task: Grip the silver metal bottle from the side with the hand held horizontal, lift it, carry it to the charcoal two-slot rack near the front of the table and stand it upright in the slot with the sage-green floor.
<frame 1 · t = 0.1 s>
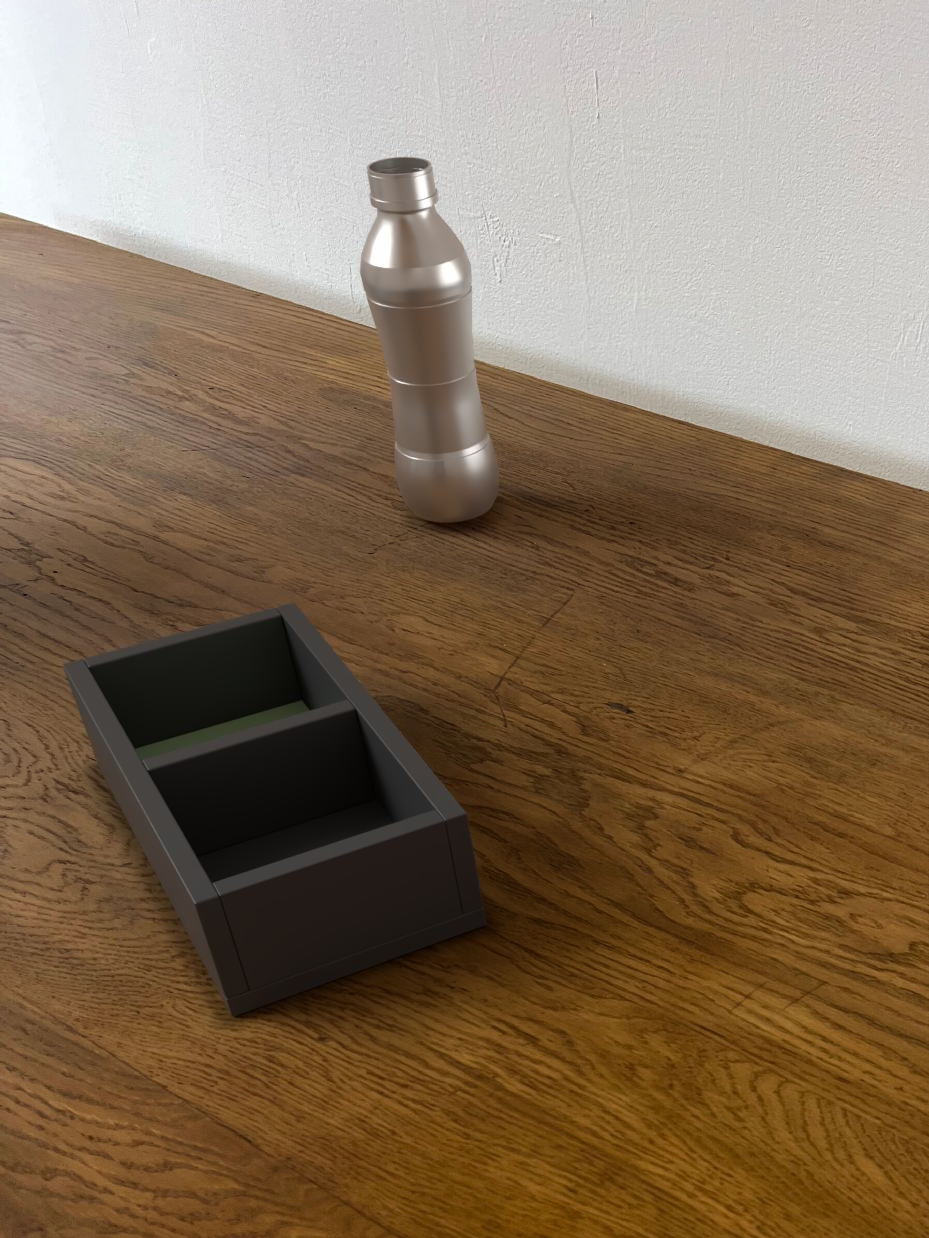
silver metal bottle: (454, 515, 101), on the table
rack: (281, 842, 75), on the table
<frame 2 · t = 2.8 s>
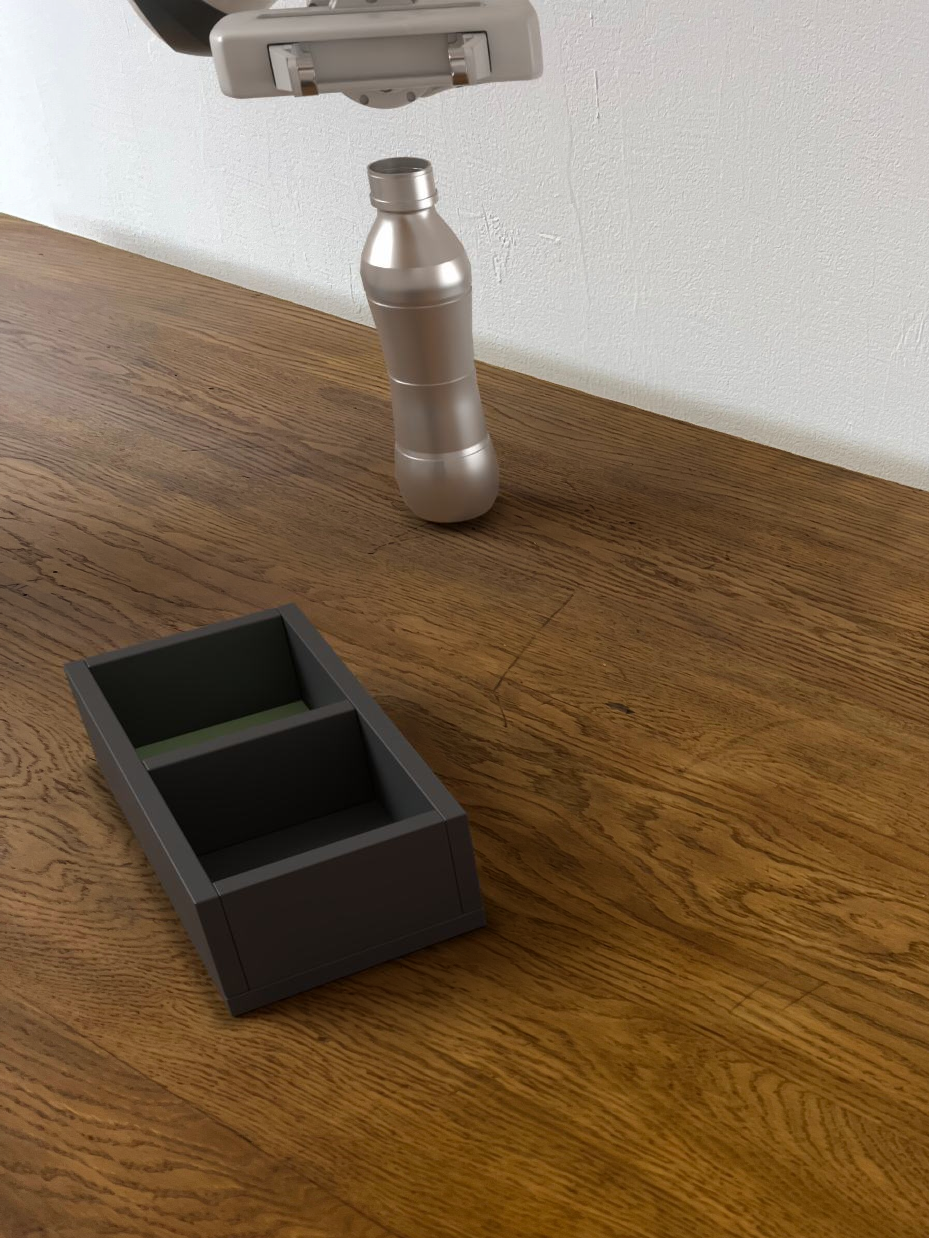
hand: (384, 76, 94), 22 cm above the table, tool horizontal, fingers open, 8 cm apart
nothing on the table moved.
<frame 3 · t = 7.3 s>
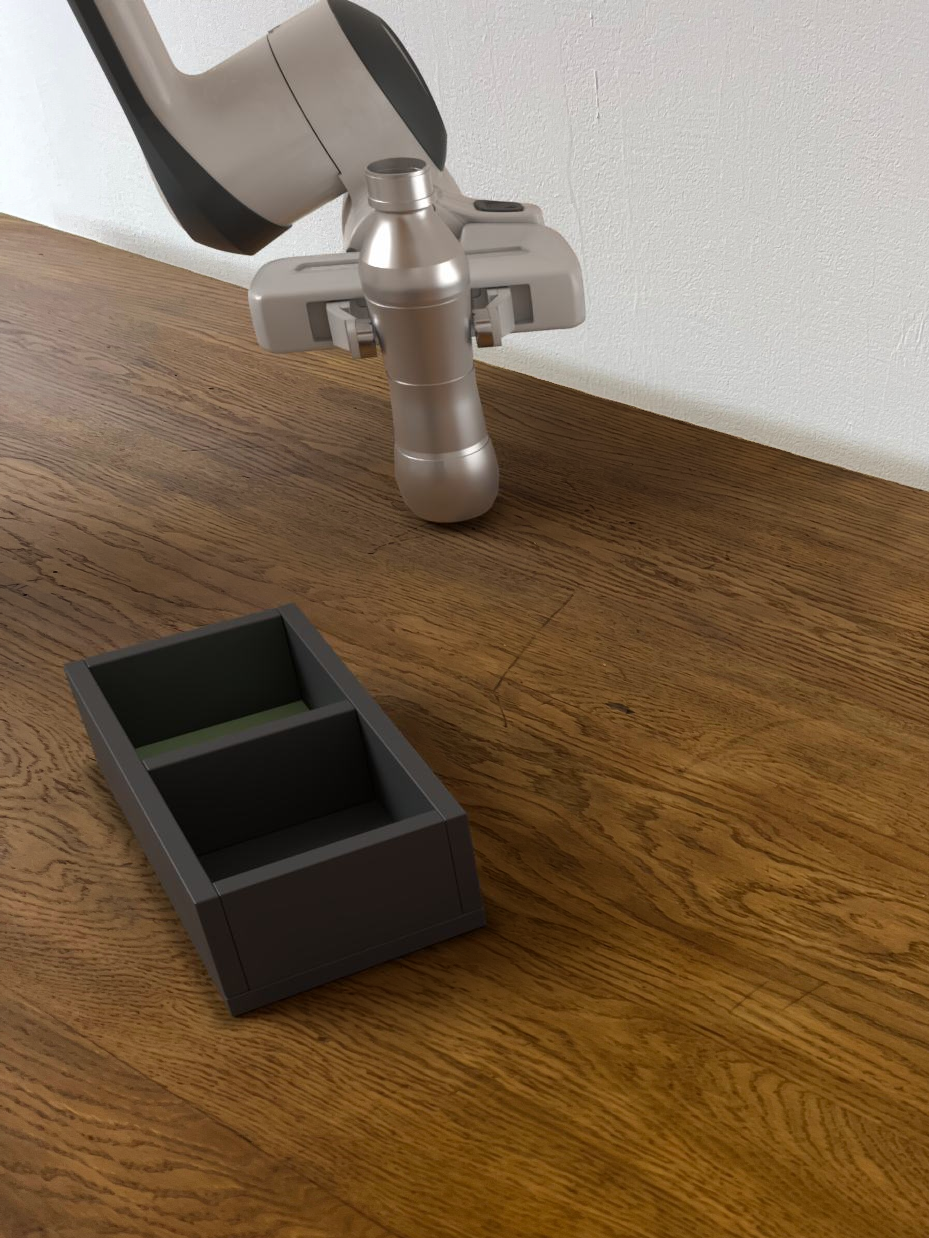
hand: (426, 339, 93), 11 cm above the table, tool horizontal, fingers closed on silver metal bottle, 6 cm apart
silver metal bottle: (454, 515, 101), on the table, touching gripper
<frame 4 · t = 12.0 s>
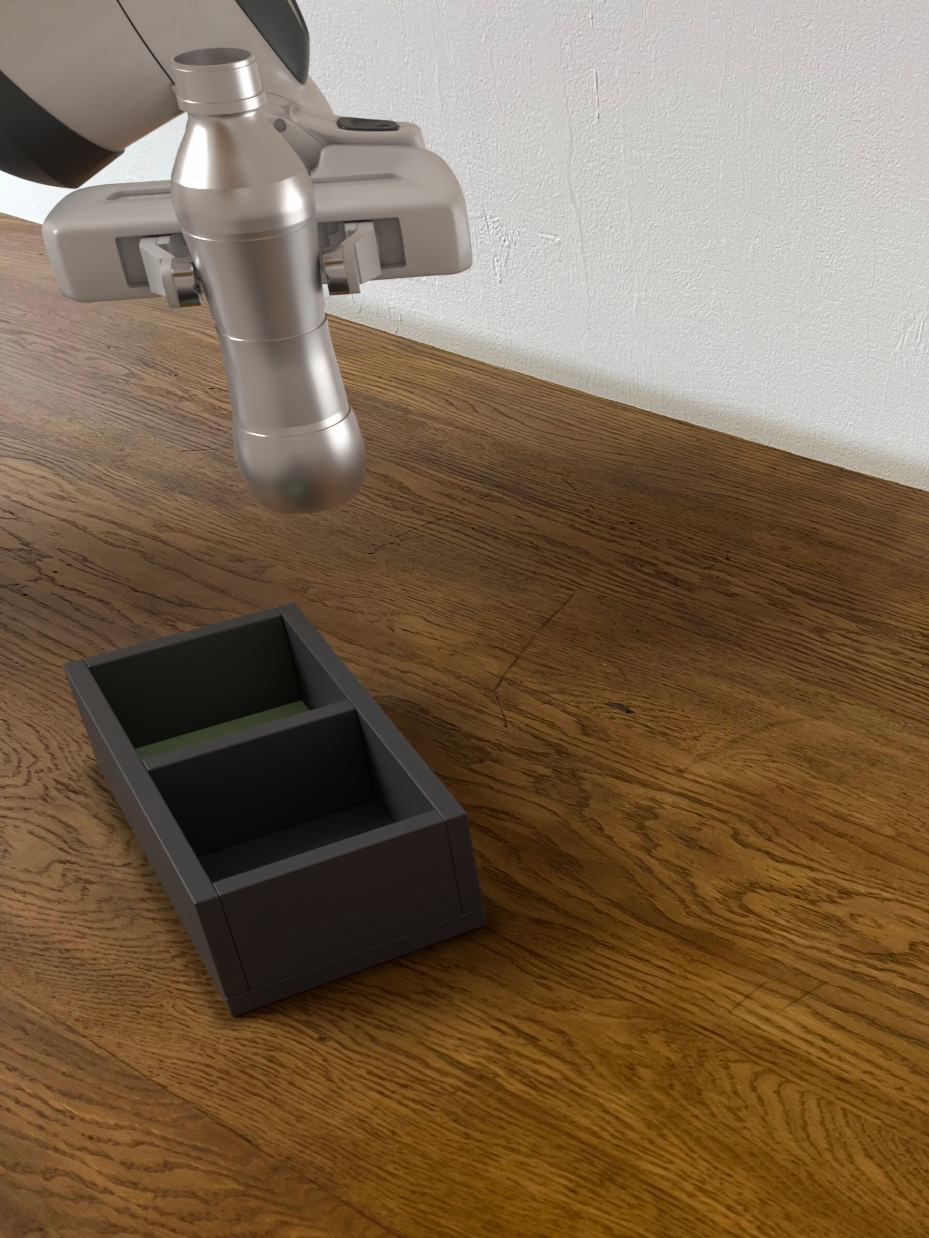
hand: (262, 283, 74), 20 cm above the table, tool horizontal, fingers closed on silver metal bottle, 6 cm apart
silver metal bottle: (312, 506, 82), point 9 cm above the table, touching gripper
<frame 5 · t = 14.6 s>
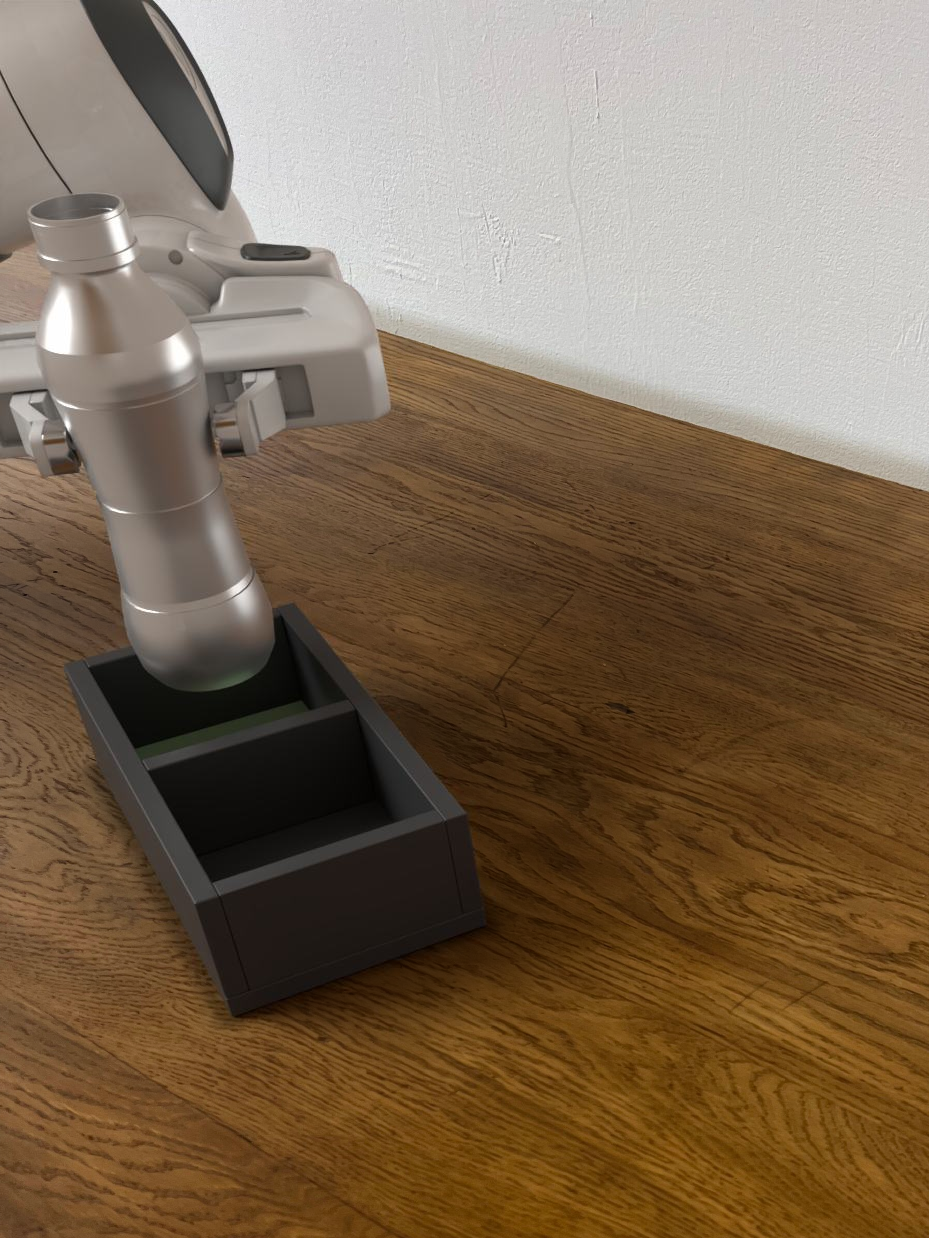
hand: (146, 448, 66), 17 cm above the table, tool horizontal, fingers closed on silver metal bottle, 6 cm apart
silver metal bottle: (217, 676, 74), point 6 cm above the table, touching gripper
when the fingers open (12 cm above the table, at t = 16.6 s): silver metal bottle stays where it is, resting on rack.
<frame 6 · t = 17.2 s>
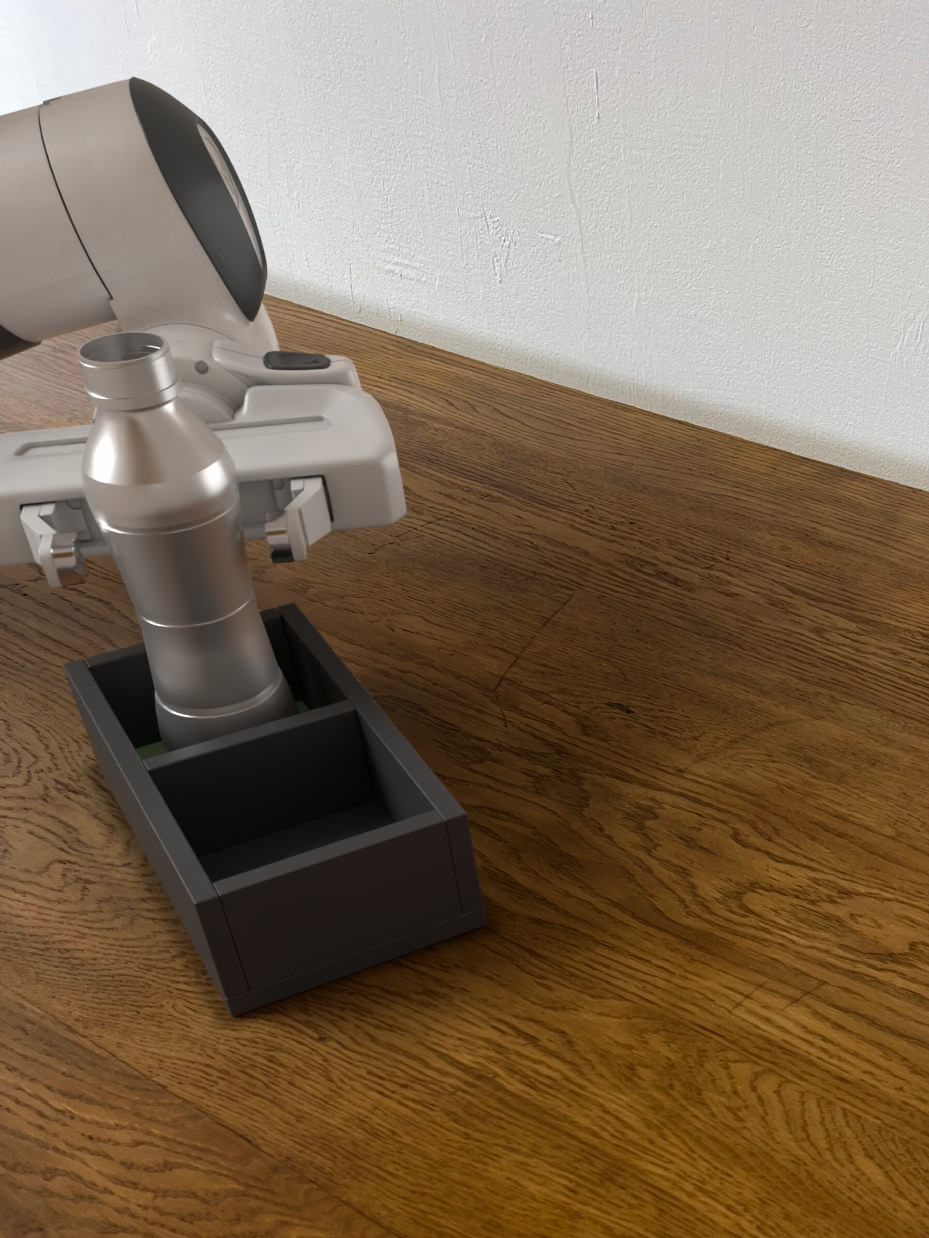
hand: (174, 558, 69), 13 cm above the table, tool horizontal, fingers open, 8 cm apart
silver metal bottle: (244, 771, 77), point 1 cm above the table, touching rack
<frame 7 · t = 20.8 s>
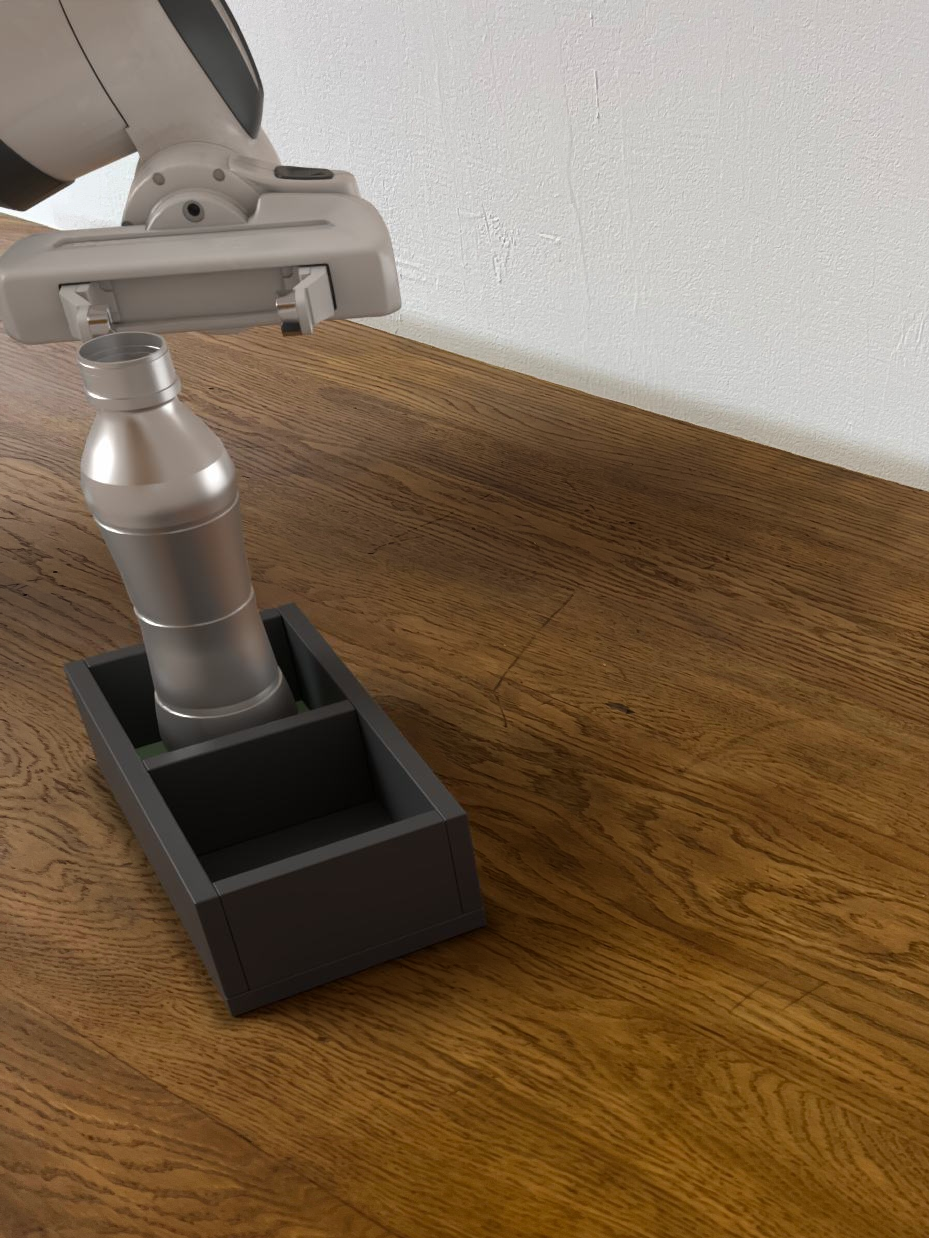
hand: (196, 327, 78), 17 cm above the table, tool horizontal, fingers open, 8 cm apart
nothing on the table moved.
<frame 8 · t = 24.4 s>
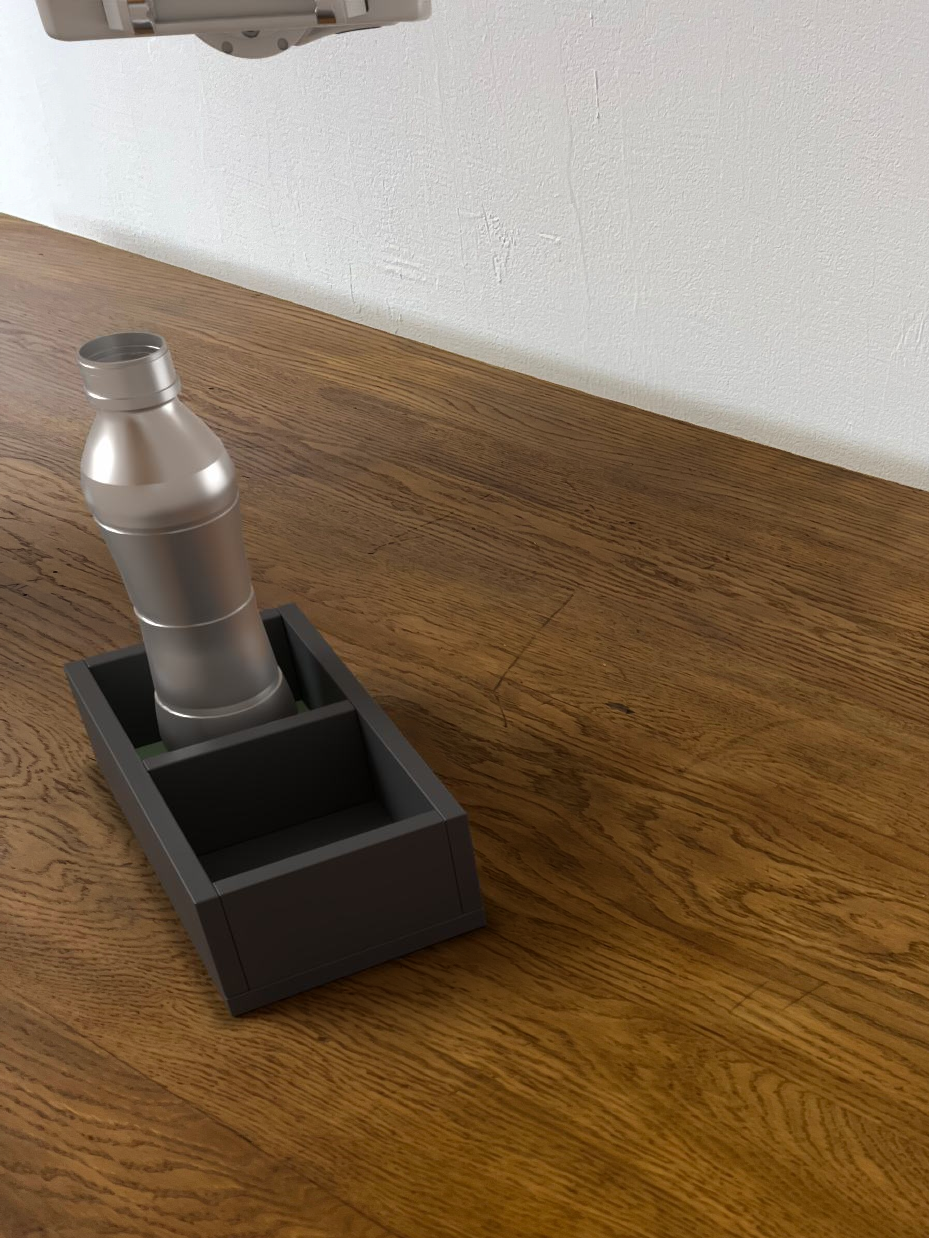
hand: (232, 11, 79), 28 cm above the table, tool horizontal, fingers open, 8 cm apart
nothing on the table moved.
at the end: silver metal bottle inside the target area in the rack (0.1 cm from its centre), point 1.0 cm above the rack's base; silver metal bottle tilted 0°; the gripper is holding nothing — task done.
